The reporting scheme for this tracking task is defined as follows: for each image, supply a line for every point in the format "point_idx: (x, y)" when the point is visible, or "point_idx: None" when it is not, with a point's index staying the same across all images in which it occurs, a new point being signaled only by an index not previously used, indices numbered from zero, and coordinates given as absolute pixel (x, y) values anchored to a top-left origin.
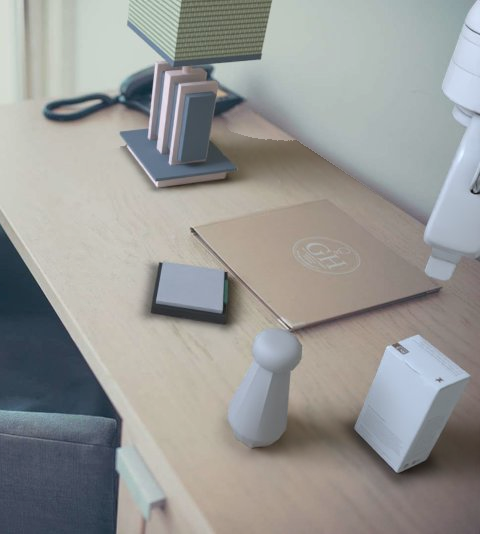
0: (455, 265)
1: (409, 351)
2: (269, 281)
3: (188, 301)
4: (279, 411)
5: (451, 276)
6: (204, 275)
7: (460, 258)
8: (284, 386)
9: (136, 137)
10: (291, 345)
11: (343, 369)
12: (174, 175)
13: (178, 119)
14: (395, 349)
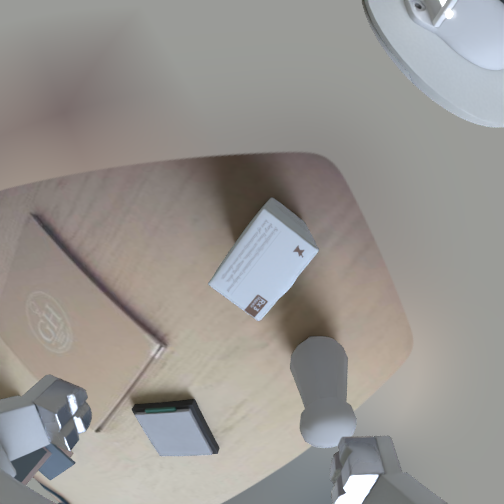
0: (398, 467)
1: (257, 294)
2: (111, 369)
3: (196, 435)
4: (338, 363)
5: (391, 441)
6: (153, 428)
7: (430, 491)
8: (337, 384)
9: (45, 471)
10: (333, 424)
11: (187, 290)
12: (59, 452)
13: (29, 478)
14: (261, 311)
